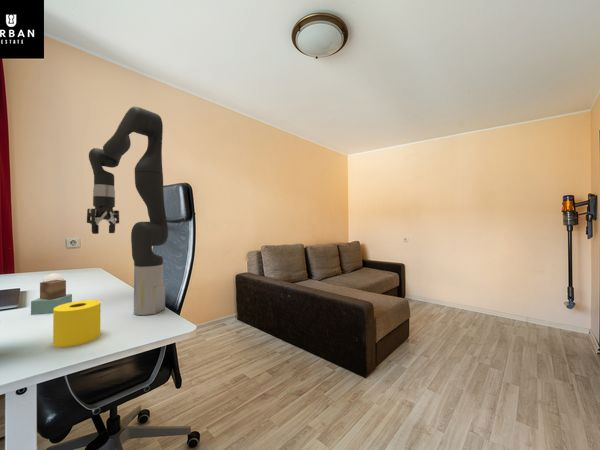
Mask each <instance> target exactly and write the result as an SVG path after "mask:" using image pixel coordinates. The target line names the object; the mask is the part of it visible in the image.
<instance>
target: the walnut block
mask: <svg viewBox="0 0 600 450" xmlns="http://www.w3.org/2000/svg"><path fill="white" fill-rule="evenodd" d="M66 294H67V280H66V279H64V280H51V281H46V282H42V281H41V282H39V298H40V299H46V300H52V299H56V298H60V297H64V296H66Z"/></svg>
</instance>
